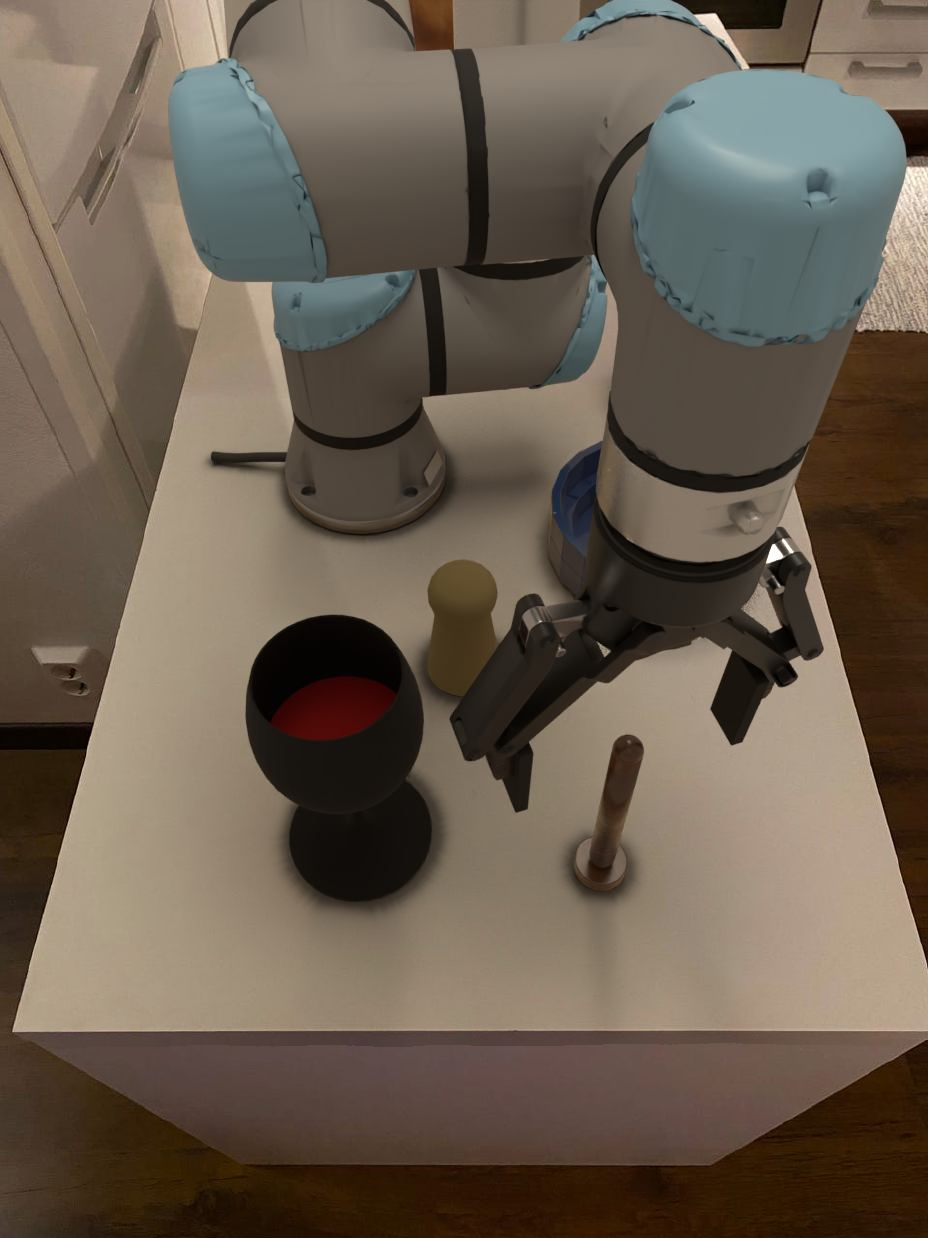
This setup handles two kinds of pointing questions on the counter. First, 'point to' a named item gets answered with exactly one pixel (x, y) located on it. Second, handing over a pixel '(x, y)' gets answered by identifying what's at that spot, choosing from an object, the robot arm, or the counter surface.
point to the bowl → (573, 516)
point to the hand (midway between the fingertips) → (621, 757)
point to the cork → (460, 624)
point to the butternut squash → (432, 24)
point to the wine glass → (342, 752)
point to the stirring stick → (611, 819)
